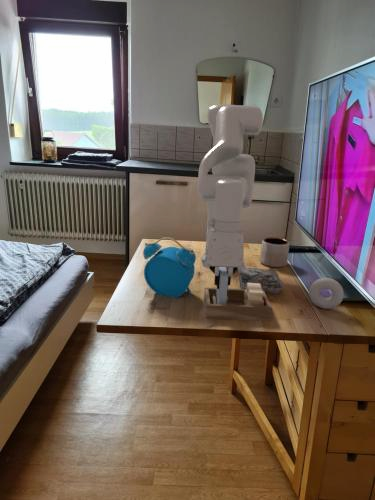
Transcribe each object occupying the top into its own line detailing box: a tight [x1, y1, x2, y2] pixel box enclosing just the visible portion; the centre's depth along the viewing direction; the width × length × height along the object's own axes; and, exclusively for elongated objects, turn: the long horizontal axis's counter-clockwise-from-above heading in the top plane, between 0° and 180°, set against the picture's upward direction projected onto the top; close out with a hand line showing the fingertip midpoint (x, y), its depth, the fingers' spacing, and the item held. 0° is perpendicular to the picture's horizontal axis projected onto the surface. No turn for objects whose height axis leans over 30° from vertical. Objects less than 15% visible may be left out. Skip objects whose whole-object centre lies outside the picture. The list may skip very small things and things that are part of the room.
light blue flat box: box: [216, 267, 229, 304], centre depth 110 cm, size 8×2×12 cm, turn 1°
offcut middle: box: [244, 290, 264, 306], centre depth 111 cm, size 8×4×2 cm, turn 3°
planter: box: [259, 236, 291, 269], centre depth 153 cm, size 11×11×10 cm
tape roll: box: [308, 277, 345, 310], centre depth 116 cm, size 10×3×10 cm, turn 71°
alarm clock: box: [142, 236, 197, 298], centre depth 119 cm, size 17×10×20 cm, turn 71°
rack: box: [203, 287, 273, 322], centre depth 112 cm, size 12×18×5 cm, turn 90°
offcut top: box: [247, 283, 263, 301], centre depth 110 cm, size 7×4×2 cm, turn 176°
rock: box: [237, 267, 285, 295], centre depth 126 cm, size 16×8×10 cm, turn 73°
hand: (222, 286), depth 110 cm, fingers closed on light blue flat box, 1 cm apart
